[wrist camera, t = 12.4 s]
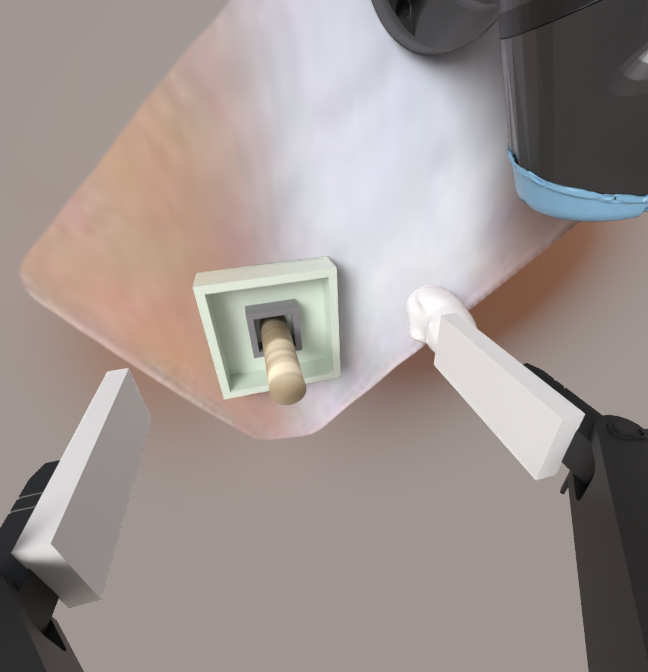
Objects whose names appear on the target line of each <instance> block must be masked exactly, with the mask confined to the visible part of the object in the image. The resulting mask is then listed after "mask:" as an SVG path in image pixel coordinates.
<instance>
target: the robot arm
mask: <svg viewBox="0 0 648 672" xmlns="http://www.w3.org/2000/svg"><path fill="white" fill-rule="evenodd" d="M372 3H373V5H374V8H375V10H376V12H377V14H378V16H379V18H380V20H381V22H382V24H383V25H384V27H385V28H386V29H387V31H388V32H389V33H390V34H391V36H392V37H393V38H394V39H395V40H396V41H398V42H399V43H400V44H401V45H403V46H404V47H406V48H407V49H409V50H411V51H413V52H416V53H419V54H424V55H440V54H445V53H448V52H451V51H453V50H456V49H458V48H461V47H464V46H466V45H468V44H469V43H471V42H473V41H474V40H476V39H477V38H479V37H480V36H481V35H483V34H484V33H485V32H486V31H487V30H488V29H489V28H490V27H491V26H492V25H493V24H494V23H495V22H496V21H497V19H498V18H499V29H500V45H501V55H502V66H503V76H504V88H505V100H506V113H507V126H508V138H509V144H508V150H507V151H508V158H509V160H510V163H511V164H512V168H513V174H514V181H515V188H516V191H517V194H518V196H519V197H520V199H521V200H522V201H523V202H525V203H526V204H528V205H529V206H530V207H531V208H532V209H533V210H535V211H537V212H539V213H542V214H544V215H547V216H550V217H554V218H559V219H564V220H573V221H588V222H589V221H590V222H596V221H615V220H623V219H629V218H635V217H639V216H640V215H641V214H642V213H643V212H648V0H372ZM434 365H435V366H436V368H437V369H438V370H439V371H440V372H441V373H442V374H443V376H445V378H446V379H447V380H448V381H449V382H450V384H451V385H452V386H453V387H454V388H455V389H456V390H457V391H458V392H459V394H460V395H461V396H462V397H463V398H464V399H465V400H466V402H467V403H468V404H469V405H470V406H471V407H472V408H473V409H474V411H475V412H476V413H477V414H478V415H479V416H480V418H481V419H482V420H483V421H484V422H485V423H486V424H487V425H488V427H489V428H490V429H491V430H492V431H493V432H494V433H495V434H496V436H497V437H498V438H499V439H500V440H501V441H502V442H503V444H504V445H505V446H506V447H507V448H508V449H509V450H510V452H511V453H512V454H513V455H514V456H515V457H516V458H517V459H518V461H519V462H520V463H521V464H522V465H523V466H524V467H525V468H526V470H527V471H528V472H529V473H530V474H531V475H532V476H533V478H534V479H535V480H539V479H542V478H546V477H549V476H553V475H556V474H557V471H558V469H559V467H560V465H561V463H563V464H564V465H565V466H566V467H567V468H569V470H570V471H569V473H568V475H567V477H566V479H565V481H564V483H563V485H562V487H561V491H560V493H562V494H564V493H565V491H566V490H567V488H569V497H570V506H571V515H572V524H573V533H574V542H575V551H576V560H577V569H578V578H579V587H580V597H581V606H582V615H583V623H584V632H585V642H586V650H587V660H588V669H589V672H648V429H643V428H642V427H640V426H639V425H638V424H636V423H634V422H632V421H630V420H628V419H625V418H622V417H619V416H613V415H604V416H603V415H601V414H600V413H599V412H597V411H596V410H595V409H593V408H592V407H591V406H589V405H588V404H587V403H585V402H584V401H583V400H581V399H580V398H579V397H577V396H576V395H575V394H573V393H572V392H571V391H569V390H568V389H567V388H564V387H563V385H561V384H560V383H559V382H557V381H554V379H553V378H552V377H551V376H549V375H548V374H547V373H546V372H544V371H543V370H541V369H539V368H536V367H534V366H532V365H530V364H528V363H526V364H521V363H520V362H519V361H517V360H516V359H515V358H513V357H512V356H511V355H510V354H508V353H507V352H506V351H505V350H503V349H502V348H501V347H499V346H498V345H497V344H496V343H494V342H493V341H492V340H491V339H489V338H488V337H487V336H486V335H484V334H483V333H482V332H480V331H479V330H478V329H477V328H475V327H474V326H473V325H472V324H470V323H469V322H468V321H466V320H465V319H464V318H463V317H461V316H460V315H459V314H458V313H451V314H445V315H441V319H440V326H439V332H438V339H437V346H436V353H435V360H434ZM151 421H152V419H151V416H150V414H149V412H148V410H147V408H146V405H145V403H144V401H143V399H142V397H141V394H140V392H139V390H138V387H137V385H136V383H135V381H134V378H133V376H132V374H131V372H130V369H129V368H126V369H120V370H115V371H108V372H107V373H106V375H105V377H104V379H103V381H102V383H101V385H100V386H99V388H98V390H97V392H96V394H95V396H94V398H93V400H92V401H91V403H90V405H89V407H88V409H87V411H86V413H85V415H84V417H83V418H82V420H81V422H80V424H79V426H78V428H77V430H76V432H75V434H74V435H73V437H72V439H71V441H70V443H69V445H68V447H67V449H66V451H65V453H64V454H63V456H62V458H61V460H59V461H54V462H49V463H45V464H44V465H43V466H42V467H41V468H40V469H39V470H38V471H37V472H36V473H35V474H34V475H33V476H32V477H31V478H30V479H29V481H28V482H27V484H26V485H25V487H24V489H23V491H22V492H21V494H20V496H19V500H17V501H16V502H15V504H14V506H13V508H12V509H11V514H8V516H7V518H6V519H5V521H4V523H3V524H2V526H1V528H0V672H84V671H83V669H82V667H81V666H80V664H79V662H78V660H77V658H76V656H75V654H74V652H73V651H72V648H71V647H70V645H69V643H68V641H67V639H66V637H65V635H64V633H63V631H62V630H61V628H60V626H59V624H58V622H57V620H55V619H54V618H53V617H52V614H53V612H54V609H55V606H56V604H57V601H58V598H59V599H60V600H61V601H62V602H63V603H64V604H65V605H66V606H67V607H68V608H72V607H75V606H79V605H83V604H86V603H89V602H93V601H97V600H100V599H101V598H102V595H103V591H104V588H105V584H106V581H107V577H108V573H109V570H110V566H111V563H112V559H113V556H114V552H115V549H116V545H117V541H118V538H119V535H120V531H121V528H122V524H123V520H124V517H125V513H126V510H127V506H128V503H129V499H130V496H131V492H132V489H133V485H134V482H135V478H136V475H137V471H138V467H139V464H140V460H141V457H142V453H143V450H144V446H145V442H146V439H147V435H148V432H149V428H150V425H151Z"/></svg>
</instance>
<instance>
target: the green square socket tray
mask: <svg viewBox="0 0 648 672" xmlns="http://www.w3.org/2000/svg"><path fill="white" fill-rule="evenodd" d="M193 290H194V294H195V297H196V301H197V305H198V308H199V312H200V315H201V319H202V322H203V326H204V330H205V333H206V337H207V340H208V344H209V347H210V351H211V355H212V358H213V362H214V365H215V369H216V373H217V376H218V380H219V383H220V387H221V390H222V394H223V398H224V399H229V398H234V397H239V396H245V395H250V394H255V393H260V392H265V391H269V385H268V378H267V371H266V365H265V358H264V351H263V344H262V337H261V330H260V321H261V318H267V317H274V316H280V315H284V316H285V318H286V320H287V323H288V327H289V330H290V334H291V337H292V340H293V344H294V347H295V351H296V354H297V357H298V361H299V364H300V367H301V371H302V374H303V378H304V381H305V384H307V383H312V382H317V381H323V380H328V379H333V378H338V377H341V372H340V344H339V316H338V288H337V267H336V266H335V265H334V264H333V262H332V261H331V260H330V259H329V257H328V256H324V257H316V258H308V259H301V260H293V261H285V262H277V263H270V264H262V265H254V266H246V267H239V268H231V269H223V270H215V271H208V272H200V273H196V276H195V280H194V284H193Z"/></svg>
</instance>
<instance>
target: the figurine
mask: <svg viewBox="0 0 648 672" xmlns="http://www.w3.org/2000/svg"><path fill="white" fill-rule="evenodd" d="M451 313H458V314H459V315H460V316H461V317H463V318H464V319H465V320H466V321H468V322H469V323H470V324H472V325H473V326H474V327H475V328H477V327H476V324H475V321H474V319H473V317H472V316H471V314H470V313H469V312H468V310H467V309H466V307H465V305H464V304H463V303H462V302H461V301H460V300H459V299H458V298H457V297H456V296H455V295H454V294H452V293H451V292H449V291H448V290H446V289H444V288H442V287H440V286H436V285H425V286H422V287H420V288H418V289H417V290H416V291H414V292H413V294H412V295H411V296H410V298H409V300H408V302H407V316H408V319H409V326H410V328H409V334H410V336H411V338H413V339H414V340H417V341H420V342H424V343H427V344H428V346H429V347H430V348H431V349H432V350H433V351H434V352H435V353H436V346H437V339H438V332H439V326H440V319H441V315H445V314H451Z"/></svg>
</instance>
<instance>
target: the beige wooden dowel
mask: <svg viewBox="0 0 648 672" xmlns="http://www.w3.org/2000/svg"><path fill="white" fill-rule="evenodd" d="M260 330H261V337H262V344H263V351H264V358H265V365H266V371H267V378H268V385H269V392H270V397H271V399H272V400H273V401H274V402H276V403H277V404H280V405H291V404H294V403H296V402H298V401H300V400H301V399H302V398H303V397H304V395H305V393H306V384H305V381H304V378H303V374H302V371H301V367H300V364H299V361H298V357H297V354H296V351H295V347H294V344H293V340H292V337H291V334H290V330H289V327H288V323H287V320H286V318H285V316H284V315H280V316H274V317H267V318H261V321H260Z"/></svg>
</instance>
